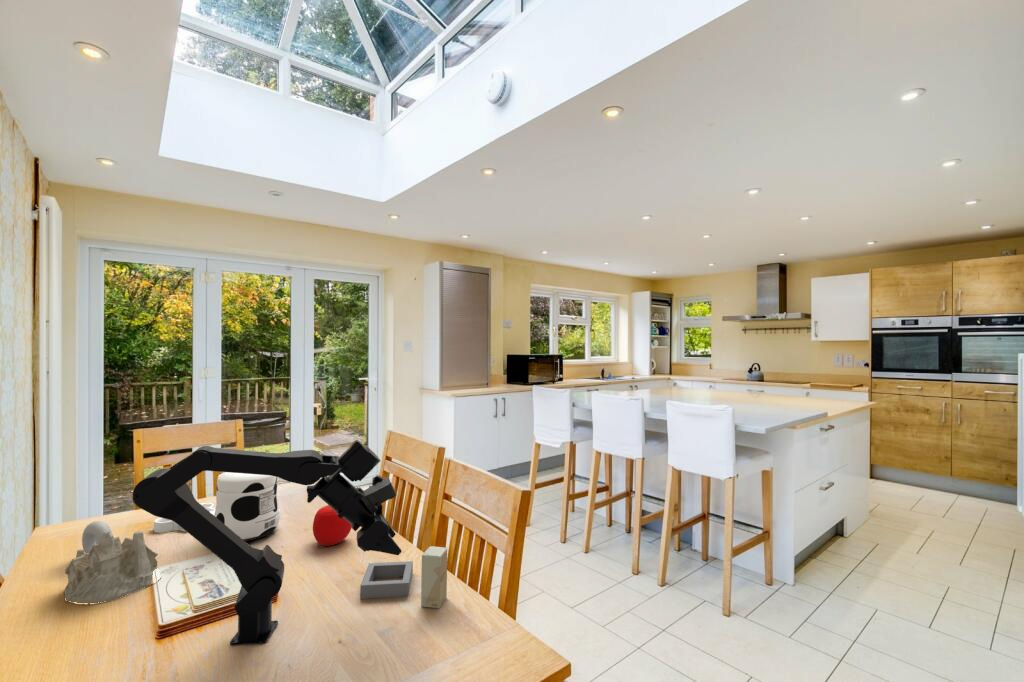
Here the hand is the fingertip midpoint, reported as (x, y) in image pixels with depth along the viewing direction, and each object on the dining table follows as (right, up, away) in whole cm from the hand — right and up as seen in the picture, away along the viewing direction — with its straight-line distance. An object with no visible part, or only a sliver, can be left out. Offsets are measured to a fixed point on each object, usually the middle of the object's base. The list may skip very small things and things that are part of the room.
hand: (397, 544), depth 101 cm
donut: (-82, -13, +20) cm, 86 cm away
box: (+8, -14, +2) cm, 16 cm away
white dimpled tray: (-76, -14, +46) cm, 90 cm away
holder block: (-4, -13, +9) cm, 17 cm away
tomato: (-26, -14, +32) cm, 44 cm away
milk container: (-53, -13, +37) cm, 66 cm away
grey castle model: (-67, -13, +8) cm, 69 cm away
